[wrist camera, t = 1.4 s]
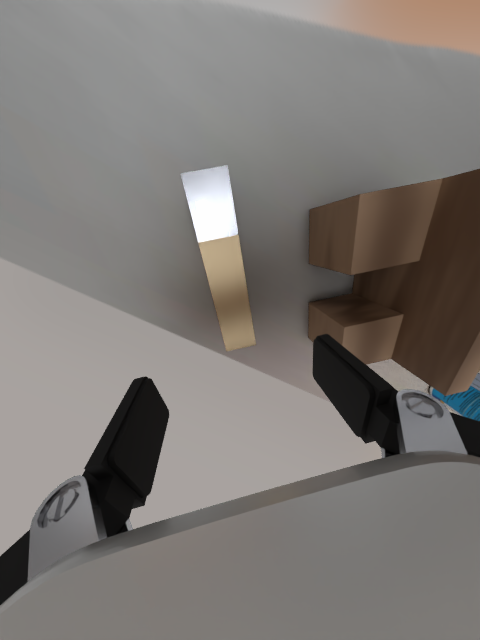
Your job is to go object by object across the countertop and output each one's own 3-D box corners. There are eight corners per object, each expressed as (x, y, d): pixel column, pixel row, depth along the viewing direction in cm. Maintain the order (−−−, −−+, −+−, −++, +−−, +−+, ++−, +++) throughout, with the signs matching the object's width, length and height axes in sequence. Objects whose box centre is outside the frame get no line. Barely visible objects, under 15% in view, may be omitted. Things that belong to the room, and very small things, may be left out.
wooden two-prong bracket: (382, 195, 18) (623, 134, 7) (360, 325, 25) (467, 390, 15) (309, 209, 18) (451, 166, 7) (308, 337, 25) (378, 412, 14)
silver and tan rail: (192, 194, 16) (180, 173, 11) (223, 189, 16) (227, 165, 11) (223, 324, 22) (226, 351, 17) (246, 319, 22) (255, 344, 17)
